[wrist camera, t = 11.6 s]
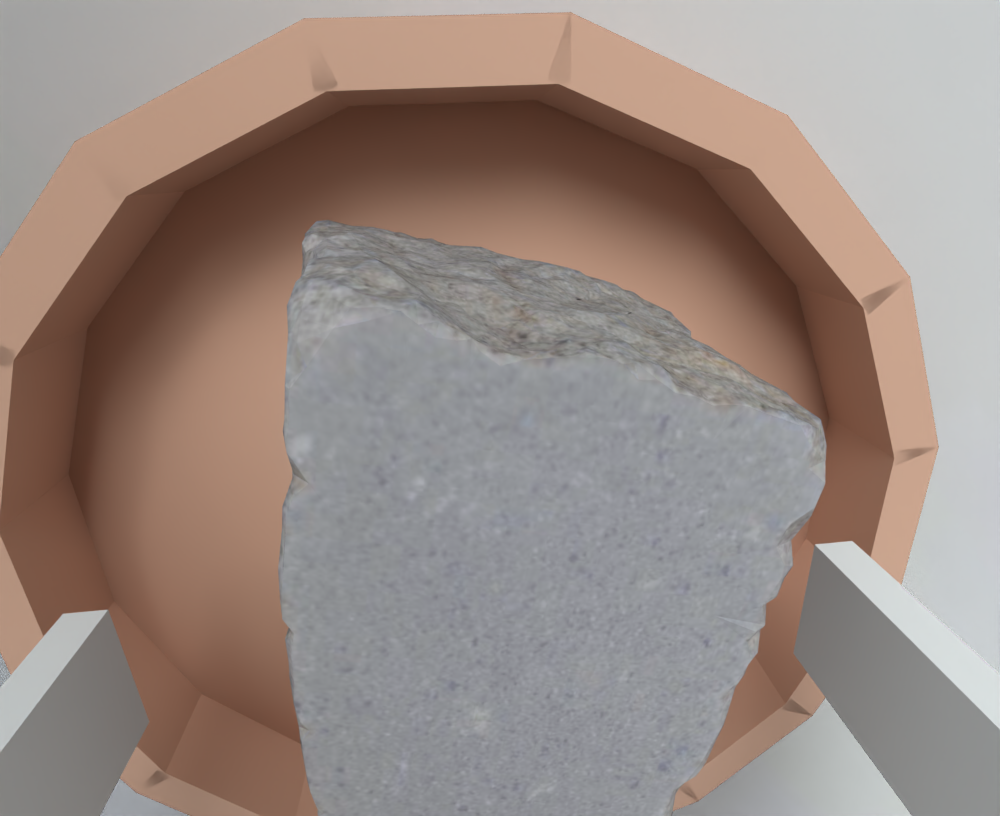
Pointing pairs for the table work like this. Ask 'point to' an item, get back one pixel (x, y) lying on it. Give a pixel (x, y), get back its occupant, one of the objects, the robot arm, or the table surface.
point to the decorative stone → (519, 532)
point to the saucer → (421, 214)
